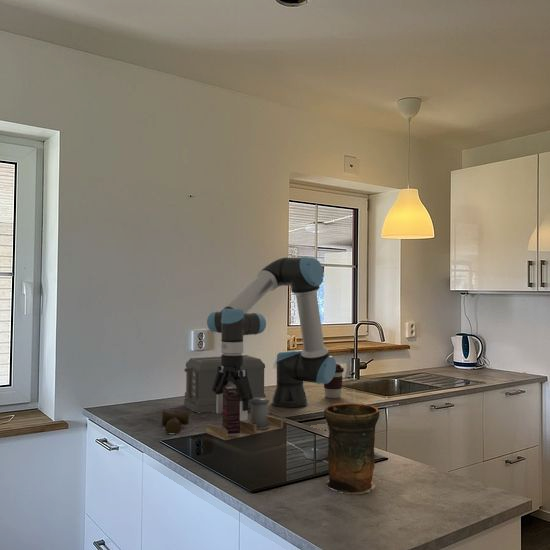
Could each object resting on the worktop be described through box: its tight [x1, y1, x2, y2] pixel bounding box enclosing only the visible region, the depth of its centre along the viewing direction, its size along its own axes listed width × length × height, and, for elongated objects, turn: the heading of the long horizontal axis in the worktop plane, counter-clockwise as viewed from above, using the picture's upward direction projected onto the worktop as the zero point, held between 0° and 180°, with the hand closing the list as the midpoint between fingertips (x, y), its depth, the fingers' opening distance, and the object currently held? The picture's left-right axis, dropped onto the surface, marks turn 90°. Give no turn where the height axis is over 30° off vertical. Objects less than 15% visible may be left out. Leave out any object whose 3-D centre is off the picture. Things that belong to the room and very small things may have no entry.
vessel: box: [323, 402, 380, 496], centre depth 145 cm, size 14×14×20 cm
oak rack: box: [206, 414, 284, 441], centre depth 195 cm, size 25×11×4 cm, turn 130°
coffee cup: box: [323, 363, 345, 399], centre depth 260 cm, size 10×10×15 cm
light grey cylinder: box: [249, 397, 270, 430], centre depth 199 cm, size 7×7×10 cm
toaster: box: [183, 354, 267, 413], centre depth 239 cm, size 19×34×20 cm, turn 117°
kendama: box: [161, 408, 190, 434], centre depth 202 cm, size 6×10×20 cm
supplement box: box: [221, 385, 240, 436], centre depth 191 cm, size 9×5×16 cm, turn 16°
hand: (231, 416), depth 191 cm, fingers open, 13 cm apart
